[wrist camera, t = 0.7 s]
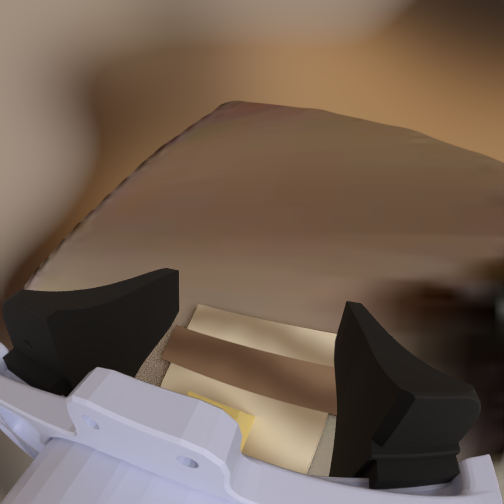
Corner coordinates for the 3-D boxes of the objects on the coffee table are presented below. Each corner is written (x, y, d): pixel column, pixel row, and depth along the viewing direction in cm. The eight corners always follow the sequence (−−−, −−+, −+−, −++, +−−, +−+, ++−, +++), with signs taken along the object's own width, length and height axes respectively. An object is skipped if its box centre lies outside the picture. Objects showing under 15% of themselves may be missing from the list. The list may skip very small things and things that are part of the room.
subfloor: (300, 529, 15) (298, 532, 15) (126, 447, 24) (120, 446, 23) (365, 342, 24) (366, 339, 24) (191, 305, 33) (187, 301, 32)
